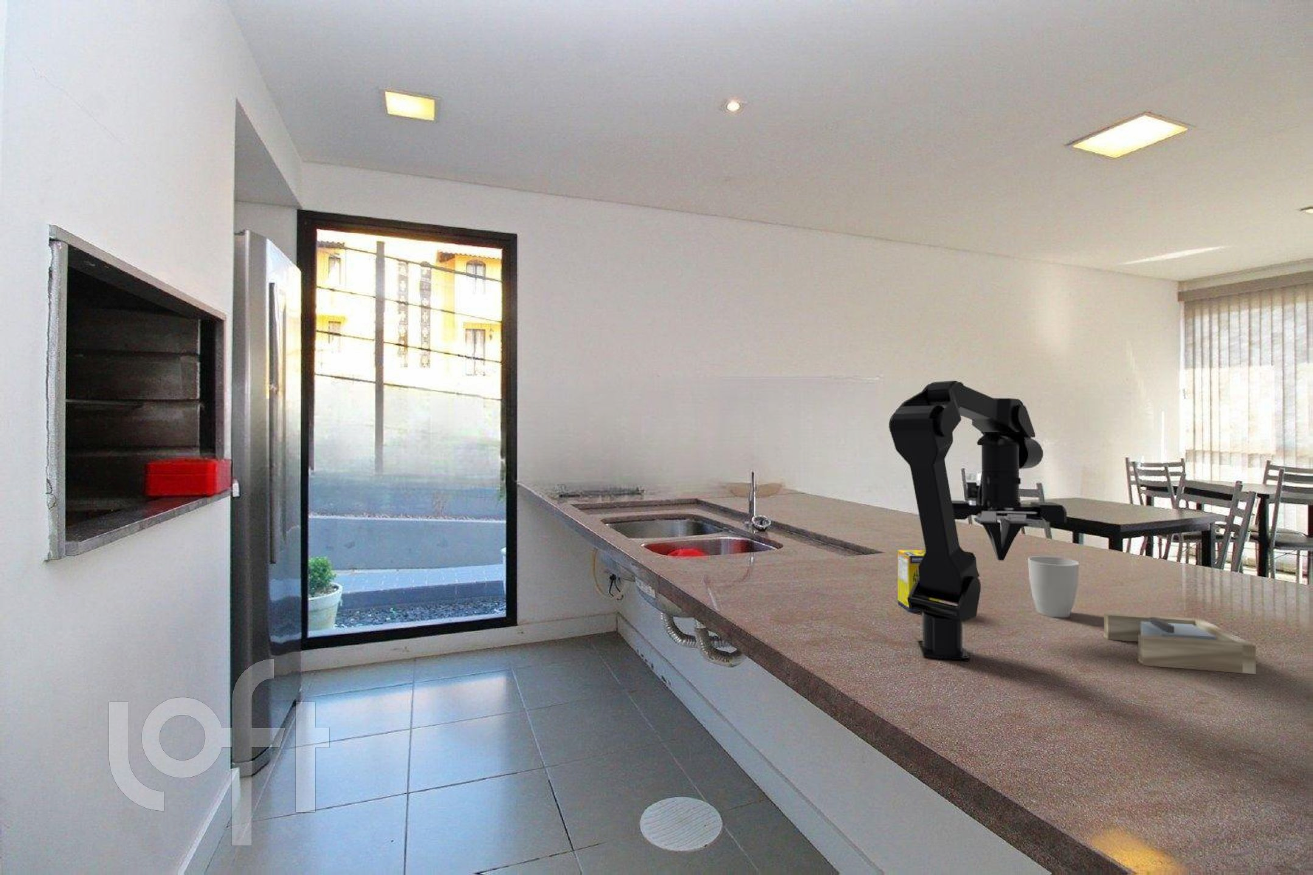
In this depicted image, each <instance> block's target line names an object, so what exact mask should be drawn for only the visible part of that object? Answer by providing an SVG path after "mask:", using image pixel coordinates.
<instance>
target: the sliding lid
mask: <svg viewBox="0 0 1313 875" xmlns="http://www.w3.org/2000/svg"><path fill="white" fill-rule="evenodd" d="M1141 635H1148V636H1162V637H1177V638H1192V639H1207V640H1217V637H1216V636H1214V635H1212V634H1210V633H1208V632H1206V631H1204V630H1202V629H1200V628H1198V627H1196V626H1194V625H1192V624H1176V623H1166V622H1165V621H1163V620H1161V619H1159V618H1157V617H1151V622H1141Z"/></svg>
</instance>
